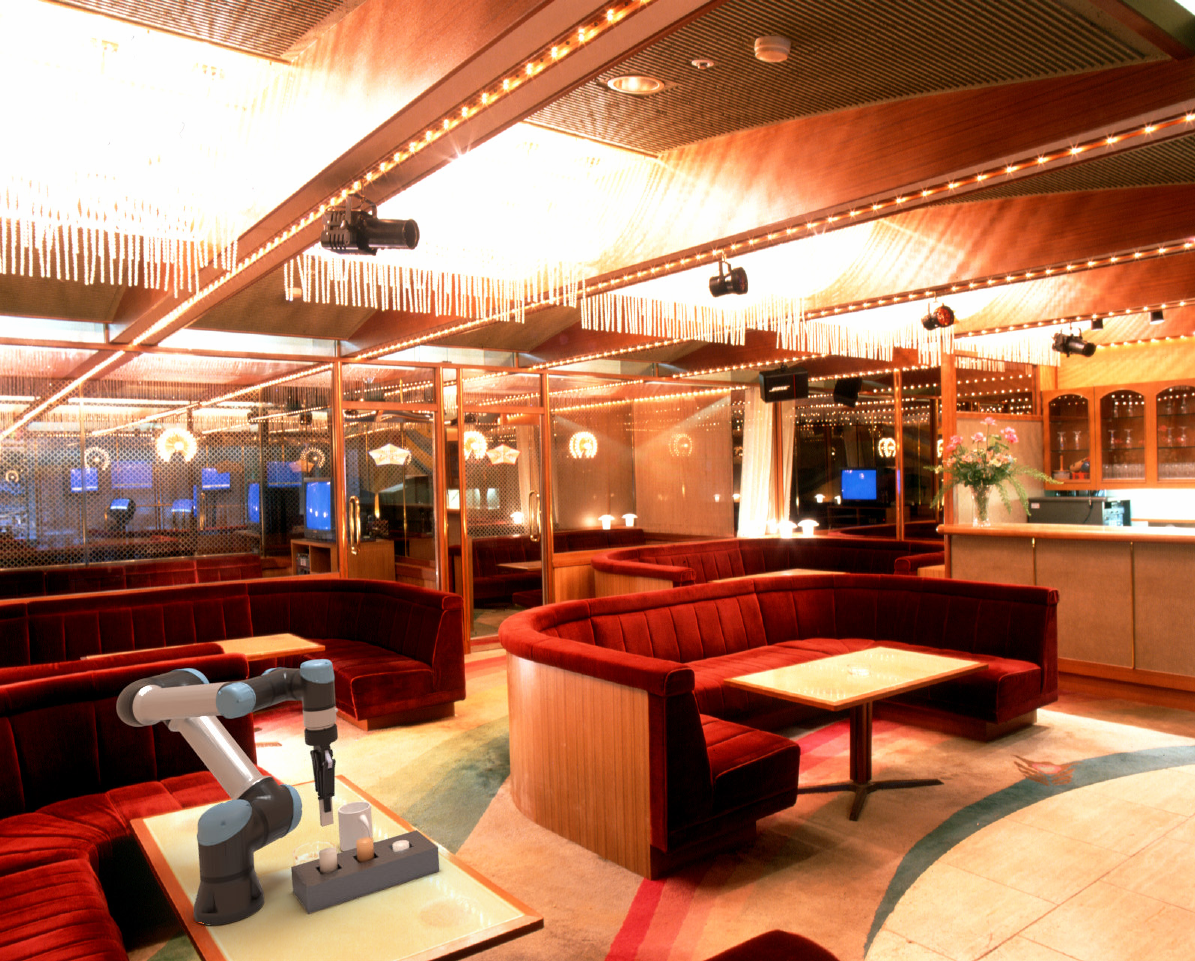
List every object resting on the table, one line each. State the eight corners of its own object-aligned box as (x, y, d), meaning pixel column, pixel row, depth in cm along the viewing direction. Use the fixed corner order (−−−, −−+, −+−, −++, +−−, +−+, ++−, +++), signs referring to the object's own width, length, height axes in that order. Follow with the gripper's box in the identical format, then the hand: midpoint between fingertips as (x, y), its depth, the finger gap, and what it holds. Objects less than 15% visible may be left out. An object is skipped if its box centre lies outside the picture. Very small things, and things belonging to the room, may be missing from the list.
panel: (308, 913, 193) (306, 887, 193) (292, 891, 204) (291, 866, 204) (439, 871, 211) (438, 846, 211) (418, 852, 222) (416, 830, 222)
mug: (355, 859, 220) (353, 818, 221) (334, 847, 229) (332, 808, 229) (385, 848, 226) (382, 808, 226) (363, 837, 235) (361, 798, 235)
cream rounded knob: (397, 868, 210) (395, 848, 210) (391, 862, 213) (390, 843, 213) (412, 863, 212) (411, 843, 212) (406, 858, 215) (405, 838, 215)
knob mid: (360, 865, 205) (359, 845, 205) (355, 860, 208) (354, 840, 208) (376, 861, 207) (375, 840, 207) (371, 855, 210) (369, 835, 210)
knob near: (322, 877, 200) (321, 856, 200) (318, 871, 203) (316, 850, 203) (339, 872, 202) (338, 851, 202) (334, 866, 205) (333, 845, 205)
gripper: (344, 727, 200) (351, 827, 199) (328, 717, 210) (334, 812, 210) (312, 734, 195) (318, 836, 195) (297, 723, 206) (303, 820, 206)
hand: (327, 824), depth 203 cm, fingers closed
